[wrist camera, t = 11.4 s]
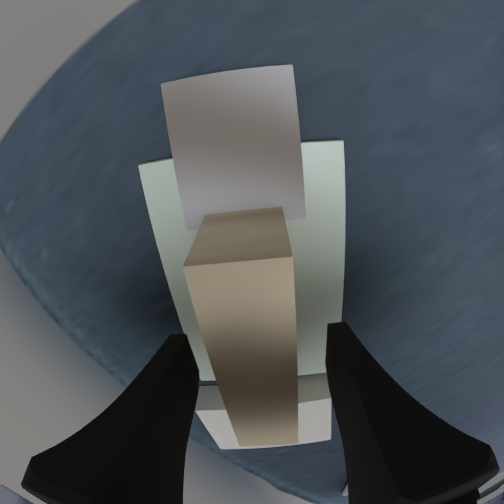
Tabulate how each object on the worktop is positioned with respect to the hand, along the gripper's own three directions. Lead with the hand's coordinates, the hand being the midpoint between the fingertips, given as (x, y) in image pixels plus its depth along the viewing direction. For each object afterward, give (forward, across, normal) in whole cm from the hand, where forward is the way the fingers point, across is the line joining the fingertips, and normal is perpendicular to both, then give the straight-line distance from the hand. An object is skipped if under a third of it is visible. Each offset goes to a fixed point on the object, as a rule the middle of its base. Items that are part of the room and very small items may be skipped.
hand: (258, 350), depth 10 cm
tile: (+2, -3, +8) cm, 8 cm away
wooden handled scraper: (+2, 0, -2) cm, 3 cm away
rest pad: (+3, 0, -1) cm, 3 cm away
